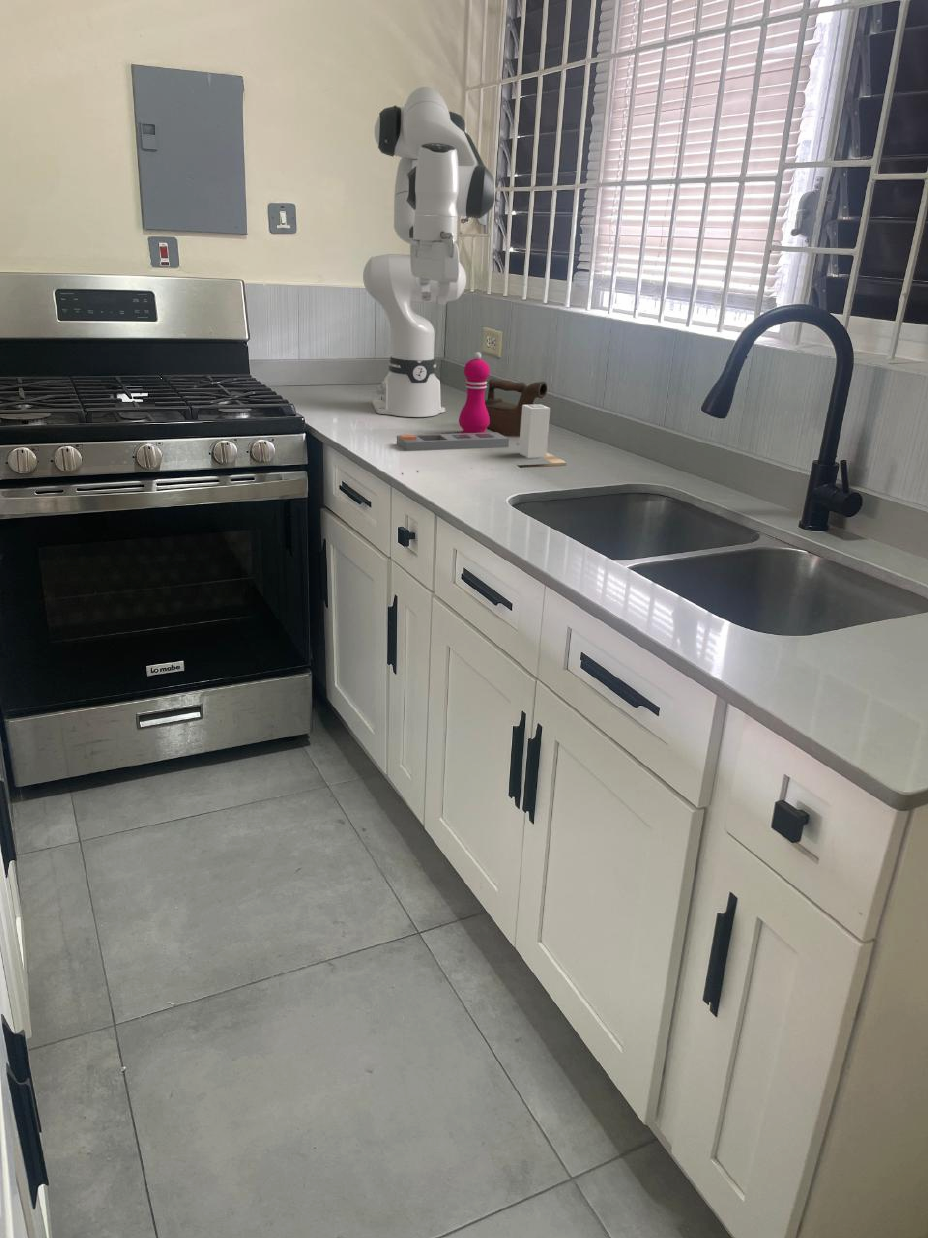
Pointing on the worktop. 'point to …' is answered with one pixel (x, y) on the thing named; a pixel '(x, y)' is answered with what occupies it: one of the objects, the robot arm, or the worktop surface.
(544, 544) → the worktop surface
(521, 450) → the block
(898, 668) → the worktop surface
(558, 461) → the tan flat angled piece
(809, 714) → the worktop surface
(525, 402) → the clothes iron
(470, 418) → the pepper mill
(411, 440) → the power strip
